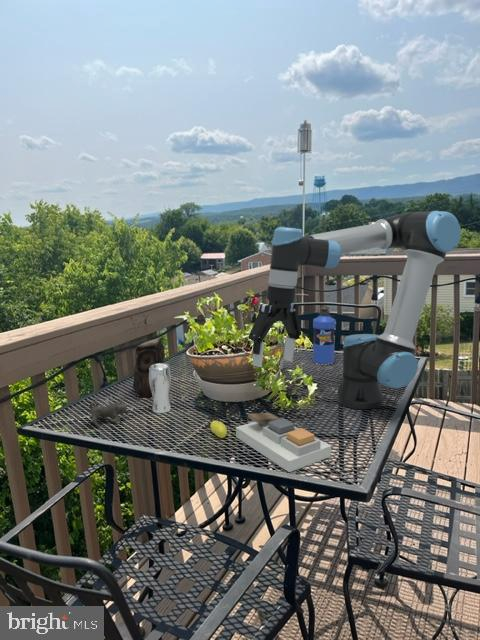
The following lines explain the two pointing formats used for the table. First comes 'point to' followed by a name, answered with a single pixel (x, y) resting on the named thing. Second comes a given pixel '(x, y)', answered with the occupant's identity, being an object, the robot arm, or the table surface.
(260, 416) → the walnut rocker
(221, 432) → the lemon
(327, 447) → the switch housing
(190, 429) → the table surface
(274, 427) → the charcoal button
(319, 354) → the water bottle
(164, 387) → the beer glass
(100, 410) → the dog figurine
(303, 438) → the orange button
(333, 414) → the table surface
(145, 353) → the dark brown speaker
